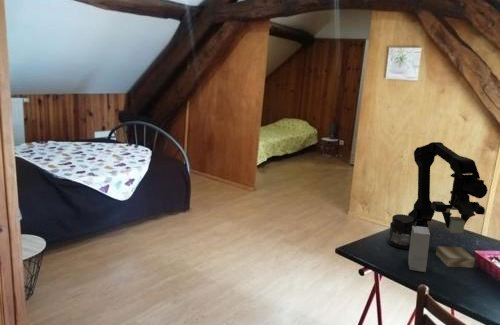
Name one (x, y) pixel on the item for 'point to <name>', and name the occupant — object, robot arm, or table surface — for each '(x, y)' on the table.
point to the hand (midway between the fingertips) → (454, 228)
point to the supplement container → (401, 231)
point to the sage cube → (456, 225)
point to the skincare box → (419, 248)
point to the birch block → (455, 257)
